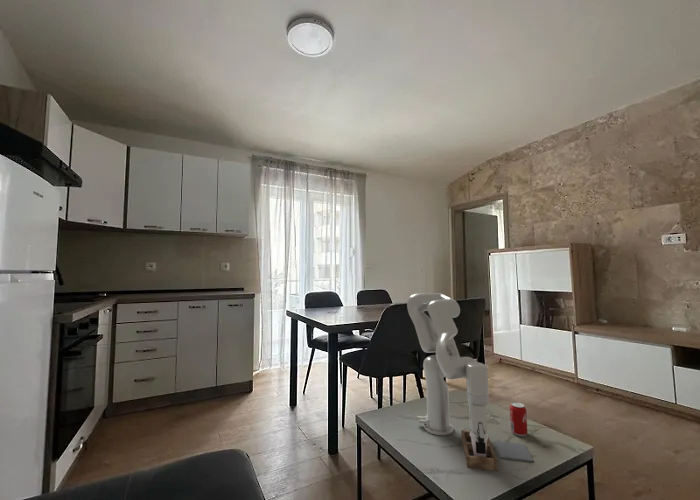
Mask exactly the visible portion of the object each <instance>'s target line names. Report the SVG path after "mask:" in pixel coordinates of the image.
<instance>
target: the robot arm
mask: <svg viewBox="0 0 700 500" xmlns="http://www.w3.org/2000/svg"><path fill="white" fill-rule="evenodd" d="M406 307H407V308H406V309H407V312H408V315H409V317H410V319H411V321H412V323H413V325H414V328H415V331H416V335H417V338H418V341H419V345H420V348H421V350H422V351H423V352H424V353H427V354H428V353H430V354H431V353H432V355H428V356H427V357H426V358H424V360H423V364H422V367H423V372H424V377H425V386H426V389H425V390H426V393H425V394H426V415H424V416H421V415H420V416H419V415H416V421H418V422H419V424H423V429H424V430H425V431H426V432H427V433H428V434H429V433H430V434H432V435H435V436H449V435H452V434H453V432H454V426H453V424H452V423H451V422H450V398H449V397H450V396H449V385H448V384H447V382H446V381H445V380H444V378H446V379H448V380H457V379H463V378H465V381H466V382H465V383H466V384H465V385H466V401H467V402H468V408H469V410H468V415H469V416H468V422H469V423H468V424H469V426H470V430H472V432H473V433H476V453H480V454H486V444H485V435H484V434H486V433H488V432H487V429H488V428H487V427H488V426H487V424H488V423H487V409H486V406H487V405H489V404H490V400H489V380H488V379H489V377H488V375H489V373H488V367H487V365H486V364H484V363H482V362H478V361H477V360H475V359H474V358H472V357H470V356H460V352H459V350H458V348H457V345H456V341H455V339H454V337H455V336H456V335H457V334H458V331H459V330H458V328H457V326H456V323H455V321H454V318H458V317H459V316H460V314H461V308H460V305H459V303H458V302H457V301H456V300H455V299H454V298H452V297H449V296H447V295H445V294H443V293H440V292H422V293H419V292H418V293H414V294H411V295H410V296H409V297H408V298H407V304H406ZM425 312H427V313H428V314H429V315H427V314H426V313H425ZM433 353H435V354H433ZM477 430H479V432H477ZM478 434H479V437H478Z"/></svg>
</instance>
